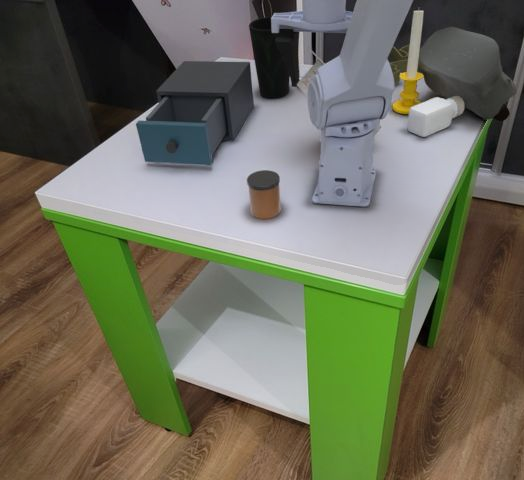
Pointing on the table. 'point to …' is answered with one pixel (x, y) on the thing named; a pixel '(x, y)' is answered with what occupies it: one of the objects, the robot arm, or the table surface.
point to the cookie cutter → (399, 61)
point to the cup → (268, 60)
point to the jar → (264, 194)
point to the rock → (467, 71)
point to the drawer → (183, 130)
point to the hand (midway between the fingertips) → (323, 85)
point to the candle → (411, 69)
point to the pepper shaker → (434, 115)
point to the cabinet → (215, 88)
